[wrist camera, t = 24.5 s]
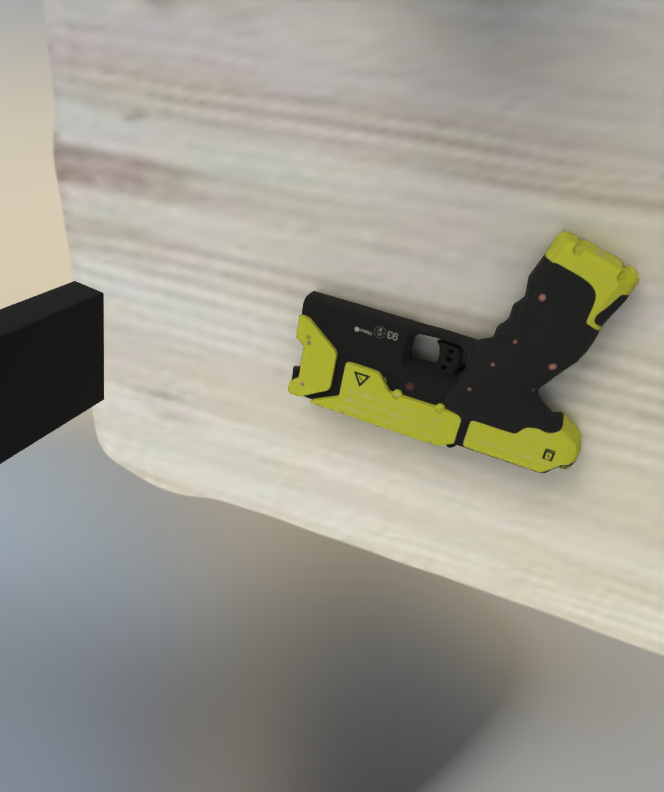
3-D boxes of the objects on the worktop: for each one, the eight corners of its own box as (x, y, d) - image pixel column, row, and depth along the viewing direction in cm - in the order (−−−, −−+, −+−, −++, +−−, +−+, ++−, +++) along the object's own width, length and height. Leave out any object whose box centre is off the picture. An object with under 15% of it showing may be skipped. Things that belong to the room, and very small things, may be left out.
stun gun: (314, 175, 35) (281, 400, 42) (667, 263, 30) (562, 497, 38) (332, 170, 37) (298, 383, 45) (661, 251, 33) (563, 473, 40)
